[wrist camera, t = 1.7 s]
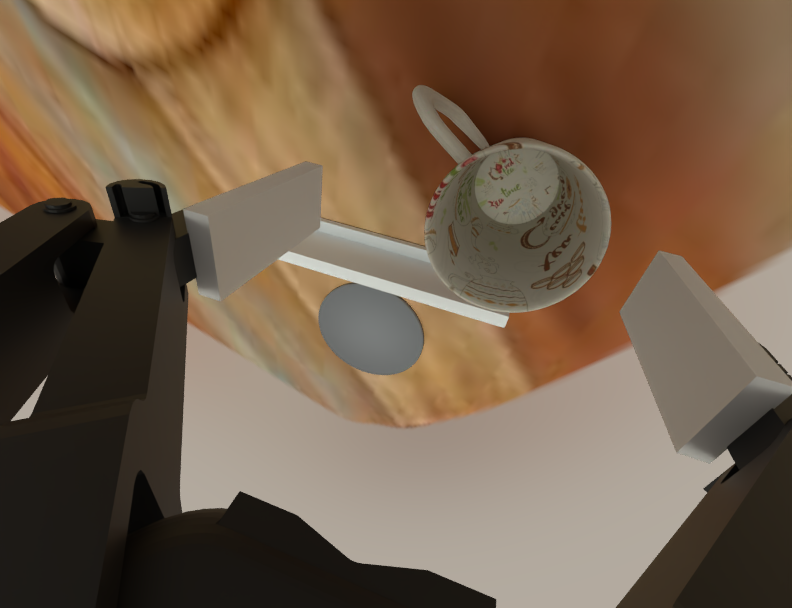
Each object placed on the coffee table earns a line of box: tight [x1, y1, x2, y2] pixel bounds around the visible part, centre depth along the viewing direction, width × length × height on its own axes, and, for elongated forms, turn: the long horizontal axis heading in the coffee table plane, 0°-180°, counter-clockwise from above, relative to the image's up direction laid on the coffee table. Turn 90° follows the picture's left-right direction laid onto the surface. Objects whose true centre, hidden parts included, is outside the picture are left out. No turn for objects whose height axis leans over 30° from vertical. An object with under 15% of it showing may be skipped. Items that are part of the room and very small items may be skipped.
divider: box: [279, 218, 509, 328], centre depth 28 cm, size 3×18×5 cm, turn 80°
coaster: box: [319, 283, 424, 375], centre depth 36 cm, size 11×11×1 cm
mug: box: [412, 85, 611, 313], centre depth 20 cm, size 8×13×10 cm, turn 48°
